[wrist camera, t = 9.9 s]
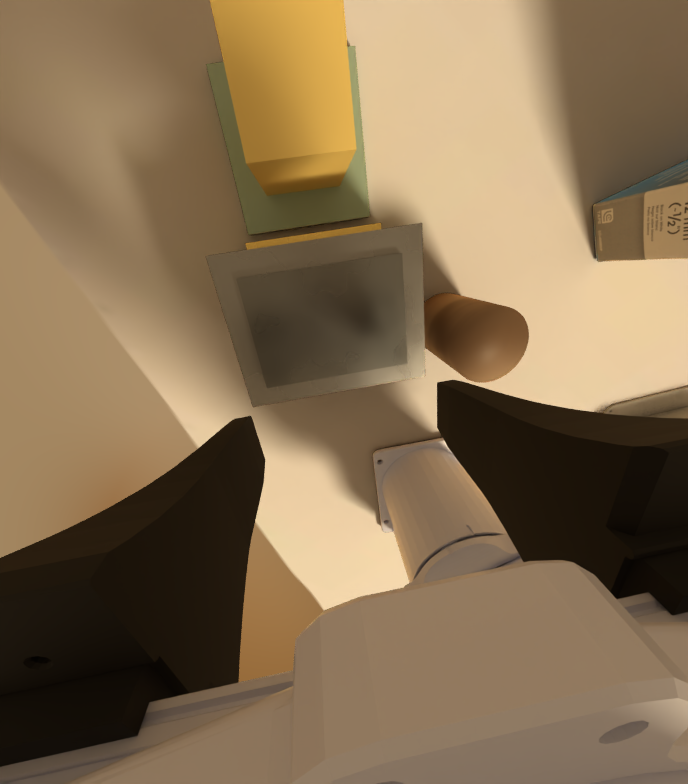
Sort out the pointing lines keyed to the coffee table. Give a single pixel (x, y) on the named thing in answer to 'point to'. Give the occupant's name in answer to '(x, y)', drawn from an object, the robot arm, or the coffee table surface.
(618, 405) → the emergency button
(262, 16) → the ochre block
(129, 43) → the coffee table surface
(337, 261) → the box
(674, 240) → the label tape box
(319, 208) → the pad
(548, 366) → the coffee table surface
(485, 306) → the walnut cylinder
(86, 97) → the coffee table surface
